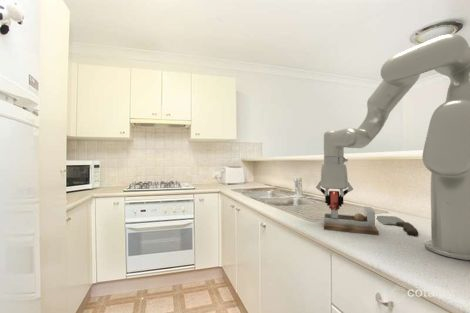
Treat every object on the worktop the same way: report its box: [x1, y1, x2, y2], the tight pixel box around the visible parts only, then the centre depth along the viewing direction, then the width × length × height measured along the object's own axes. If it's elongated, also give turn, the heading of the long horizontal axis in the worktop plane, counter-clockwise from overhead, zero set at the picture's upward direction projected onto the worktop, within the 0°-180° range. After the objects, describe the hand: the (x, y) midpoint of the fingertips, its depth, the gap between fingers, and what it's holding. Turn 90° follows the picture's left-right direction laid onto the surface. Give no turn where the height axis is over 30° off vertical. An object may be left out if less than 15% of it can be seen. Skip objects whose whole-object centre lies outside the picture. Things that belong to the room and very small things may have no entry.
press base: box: [323, 223, 380, 236], centre depth 91 cm, size 18×16×2 cm
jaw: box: [328, 190, 341, 219], centre depth 94 cm, size 4×7×12 cm, turn 157°
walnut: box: [354, 213, 365, 221], centre depth 90 cm, size 4×4×4 cm
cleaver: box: [375, 215, 419, 237], centre depth 94 cm, size 29×10×2 cm, turn 162°
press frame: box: [323, 206, 376, 228], centre depth 92 cm, size 18×10×6 cm, turn 67°
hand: (334, 205), depth 94 cm, fingers closed on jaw, 4 cm apart
